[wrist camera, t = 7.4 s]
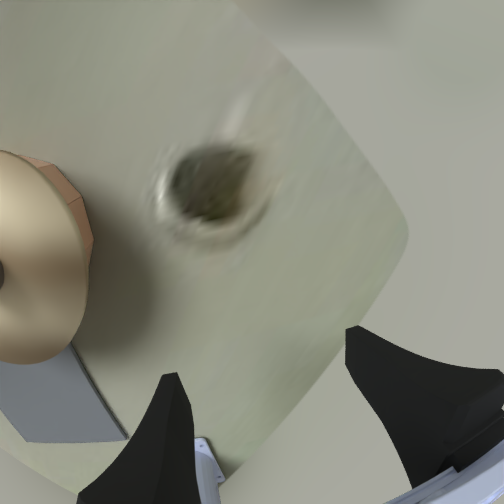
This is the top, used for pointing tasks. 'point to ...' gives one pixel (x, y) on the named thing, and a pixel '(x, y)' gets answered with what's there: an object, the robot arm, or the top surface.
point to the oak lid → (37, 265)
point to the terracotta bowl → (68, 201)
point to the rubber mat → (56, 402)
